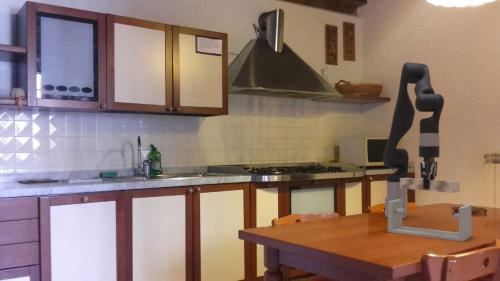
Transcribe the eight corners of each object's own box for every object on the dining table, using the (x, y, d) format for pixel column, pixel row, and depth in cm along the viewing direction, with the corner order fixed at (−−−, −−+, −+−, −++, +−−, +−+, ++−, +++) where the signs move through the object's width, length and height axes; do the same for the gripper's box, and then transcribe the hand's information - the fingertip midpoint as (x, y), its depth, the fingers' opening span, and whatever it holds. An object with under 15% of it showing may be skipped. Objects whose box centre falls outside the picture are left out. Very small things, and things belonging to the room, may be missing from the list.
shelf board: (399, 188, 189) (400, 178, 189) (406, 187, 193) (406, 177, 193) (452, 192, 172) (452, 181, 173) (459, 192, 176) (459, 181, 176)
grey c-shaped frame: (387, 232, 186) (387, 201, 186) (398, 228, 195) (398, 199, 196) (463, 241, 169) (463, 208, 169) (471, 236, 178) (471, 204, 179)
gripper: (425, 145, 191) (424, 186, 190) (413, 145, 179) (413, 189, 179) (444, 145, 186) (444, 188, 186) (433, 145, 175) (433, 190, 174)
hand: (428, 188), depth 182 cm, fingers closed on shelf board, 5 cm apart
